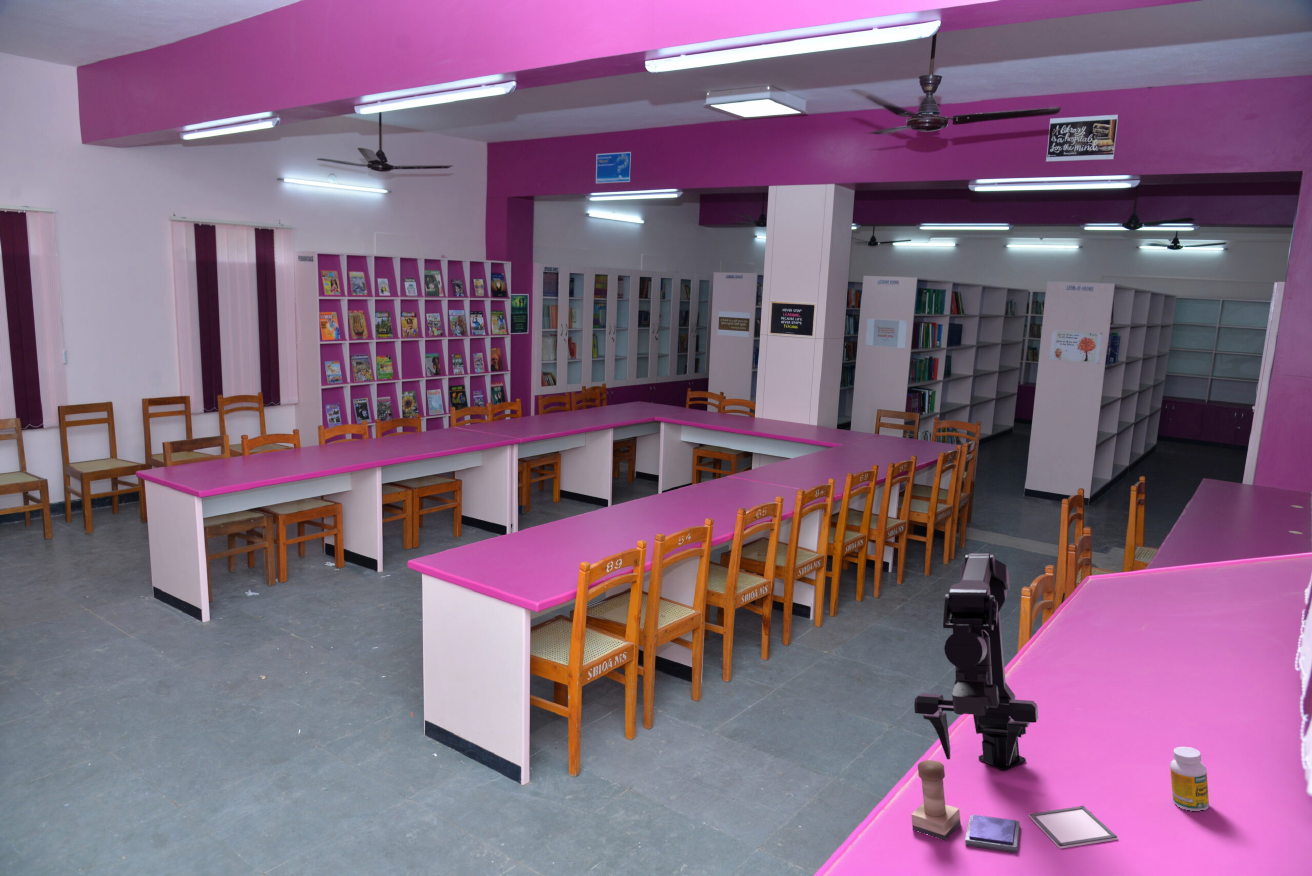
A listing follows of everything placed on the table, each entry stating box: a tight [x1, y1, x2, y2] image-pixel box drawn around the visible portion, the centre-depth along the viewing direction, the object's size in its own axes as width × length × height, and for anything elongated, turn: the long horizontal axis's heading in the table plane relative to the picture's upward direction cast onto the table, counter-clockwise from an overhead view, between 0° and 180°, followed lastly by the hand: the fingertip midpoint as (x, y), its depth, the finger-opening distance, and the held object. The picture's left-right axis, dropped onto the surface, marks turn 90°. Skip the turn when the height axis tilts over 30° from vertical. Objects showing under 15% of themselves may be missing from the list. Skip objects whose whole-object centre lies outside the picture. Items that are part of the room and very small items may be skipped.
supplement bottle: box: [1169, 746, 1210, 812], centre depth 144 cm, size 5×5×10 cm
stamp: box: [910, 759, 962, 842], centre depth 147 cm, size 6×6×11 cm
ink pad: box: [964, 814, 1021, 854], centre depth 142 cm, size 8×8×1 cm
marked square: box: [1028, 805, 1119, 850], centre depth 142 cm, size 10×10×1 cm
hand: (977, 762), depth 137 cm, fingers open, 9 cm apart
